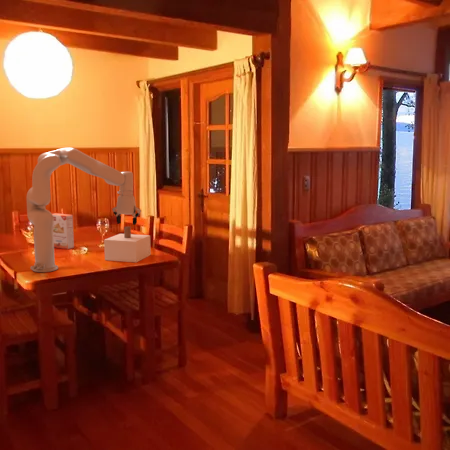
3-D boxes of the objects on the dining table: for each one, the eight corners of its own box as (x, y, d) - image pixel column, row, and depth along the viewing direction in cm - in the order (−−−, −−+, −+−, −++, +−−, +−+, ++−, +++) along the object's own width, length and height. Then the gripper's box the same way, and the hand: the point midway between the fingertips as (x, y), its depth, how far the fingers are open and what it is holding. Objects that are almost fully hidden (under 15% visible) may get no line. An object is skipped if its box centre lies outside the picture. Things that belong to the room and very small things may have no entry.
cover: (136, 262, 287) (135, 230, 284) (104, 260, 292) (103, 229, 289) (150, 254, 305) (149, 225, 302) (120, 252, 311) (119, 223, 308)
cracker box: (50, 247, 325) (48, 214, 322) (57, 245, 331) (56, 212, 327) (67, 249, 319) (65, 215, 315) (74, 247, 324) (73, 214, 321)
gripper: (109, 193, 291) (109, 224, 294) (137, 195, 287) (137, 225, 289) (115, 192, 299) (115, 222, 301) (143, 193, 294) (143, 224, 297)
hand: (126, 223), depth 295 cm, fingers open, 9 cm apart
